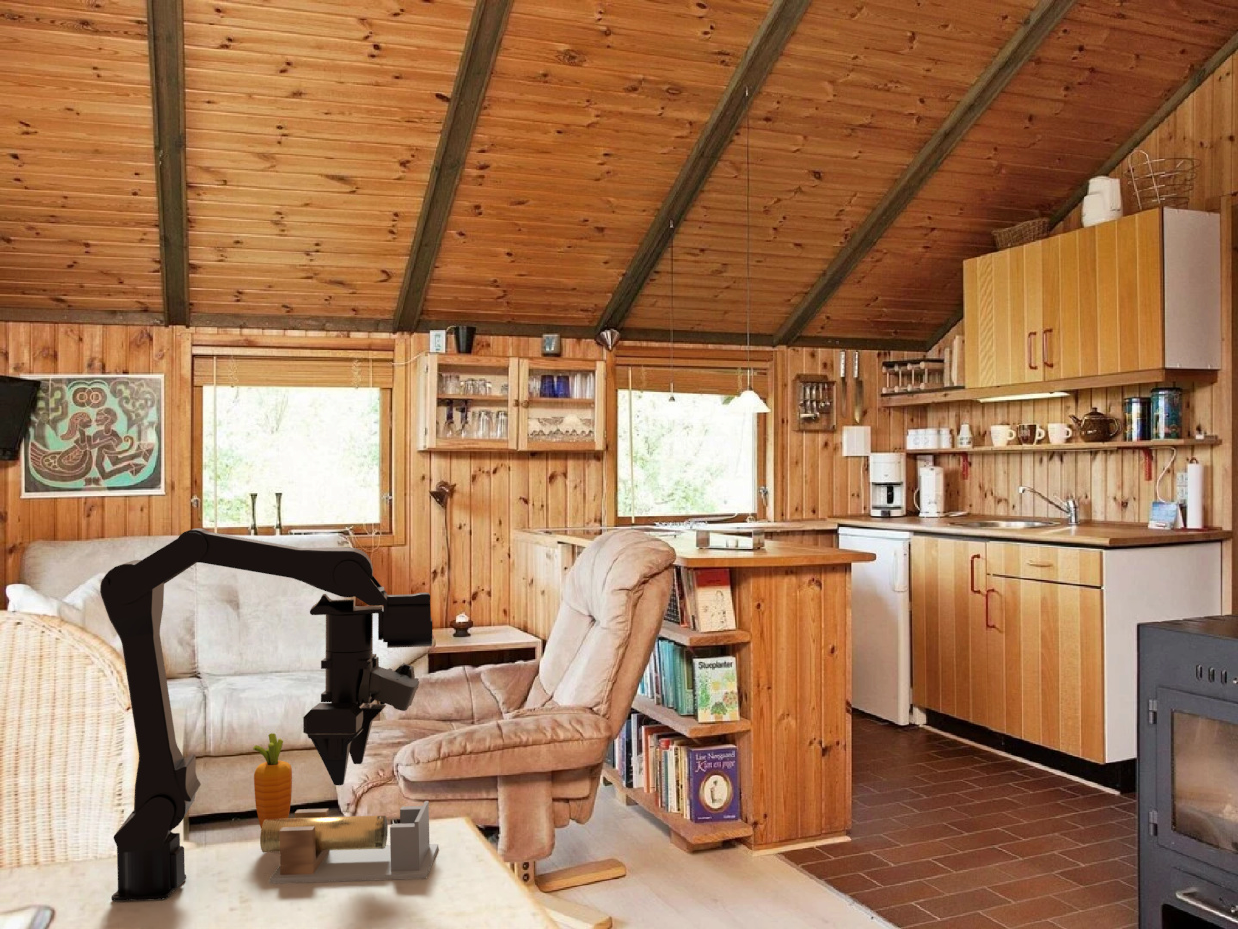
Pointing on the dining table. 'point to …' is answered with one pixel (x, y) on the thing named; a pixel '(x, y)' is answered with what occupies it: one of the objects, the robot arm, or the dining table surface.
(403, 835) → the socket
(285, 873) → the wooden u-shaped cradle
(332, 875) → the board
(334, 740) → the robot arm
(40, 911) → the dining table surface
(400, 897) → the dining table surface
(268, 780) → the carrot
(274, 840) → the tube
